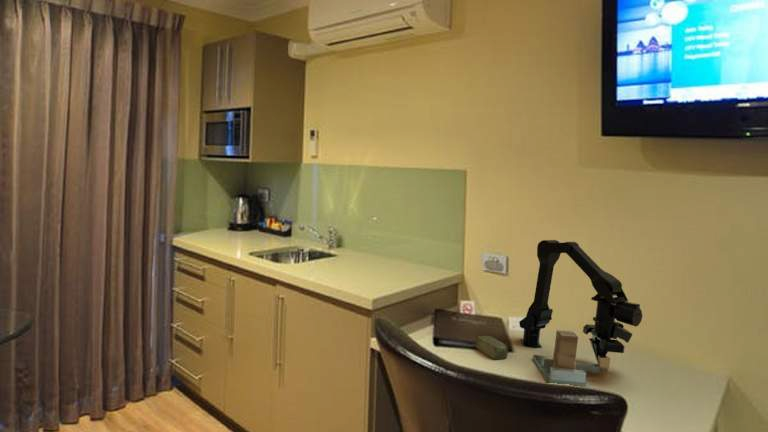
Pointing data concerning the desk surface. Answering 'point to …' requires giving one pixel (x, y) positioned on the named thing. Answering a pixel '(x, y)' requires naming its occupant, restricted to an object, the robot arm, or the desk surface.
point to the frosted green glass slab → (561, 374)
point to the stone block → (492, 347)
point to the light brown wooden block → (584, 364)
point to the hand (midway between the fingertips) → (599, 363)
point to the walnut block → (565, 349)
